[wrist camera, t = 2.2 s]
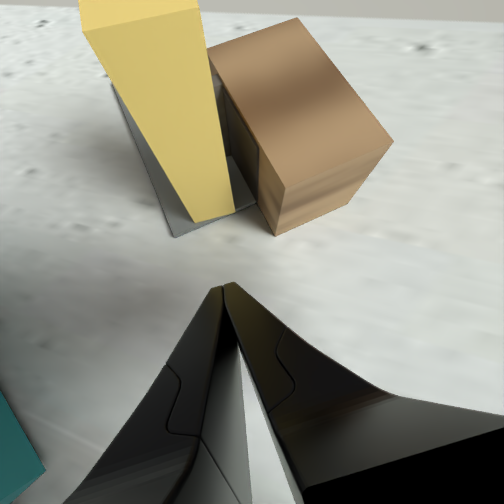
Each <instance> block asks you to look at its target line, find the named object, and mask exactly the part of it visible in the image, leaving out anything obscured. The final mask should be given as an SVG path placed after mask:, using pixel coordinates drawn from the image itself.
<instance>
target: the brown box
mask: <svg viewBox="0 0 504 504" xmlns="http://www.w3.org/2000/svg"><path fill="white" fill-rule="evenodd" d="M207 54H208V60H209V66H210V71H211V77H212V83H213V88H214V94H215V100H216V105H217V111H218V117H219V122H220V128H221V134H222V139H223V145H224V151H225V156H226V157H228V156H231V155H232V157H233V159H234V161H235V163H236V165H237V167H238V168H239V170H240V172H241V174H242V176H243V178H244V180H245V182H246V183H247V185H248V187H249V189H250V191H251V193H252V195H253V197H254V198H255V200H256V202H257V204H258V206H259V208H260V209H261V211H262V213H263V215H264V217H265V219H266V221H267V223H268V224H269V226H270V228H271V230H272V232H273V234H274V236H275V237H276V236H278V235H280V234H282V233H284V232H287V231H289V230H291V229H293V228H295V227H298V226H300V225H302V224H304V223H307V222H309V221H311V220H313V219H315V218H318V217H320V216H322V215H324V214H326V213H329V212H331V211H333V210H335V209H337V208H340V207H342V206H344V205H346V204H348V202H349V201H350V200H351V198H352V197H353V196H354V194H355V193H356V192H357V190H358V189H359V188H360V186H361V185H362V184H363V182H364V181H365V180H366V178H367V177H368V176H369V174H370V173H371V171H372V170H373V169H374V167H375V166H376V165H377V163H378V162H379V161H380V159H381V158H382V157H383V155H384V154H385V153H386V151H387V150H388V149H389V147H390V146H391V145H392V143H393V142H394V141H393V139H392V138H391V137H390V136H389V134H388V133H387V132H386V130H385V129H384V128H383V127H382V125H381V124H380V123H379V121H378V120H377V119H376V118H375V116H374V115H373V114H372V112H371V111H370V110H369V109H368V107H367V106H366V105H365V103H364V102H363V101H362V100H361V98H360V97H359V96H358V94H357V93H356V92H355V91H354V89H353V88H352V87H351V86H350V84H349V83H348V82H347V80H346V79H345V78H344V77H343V75H342V74H341V73H340V71H339V70H338V69H337V68H336V66H335V65H334V64H333V62H332V61H331V60H330V59H329V57H328V56H327V55H326V53H325V52H324V51H323V50H322V48H321V47H320V46H319V44H318V43H317V42H316V41H315V39H314V38H313V37H312V35H311V34H310V33H309V32H308V30H307V29H306V28H305V26H304V25H303V24H302V23H301V21H300V20H299V19H298V18H294V19H291V20H288V21H285V22H282V23H279V24H276V25H274V26H271V27H268V28H265V29H262V30H259V31H256V32H253V33H250V34H248V35H245V36H242V37H239V38H236V39H233V40H230V41H227V42H224V43H222V44H219V45H216V46H213V47H210V48H207Z"/></svg>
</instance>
